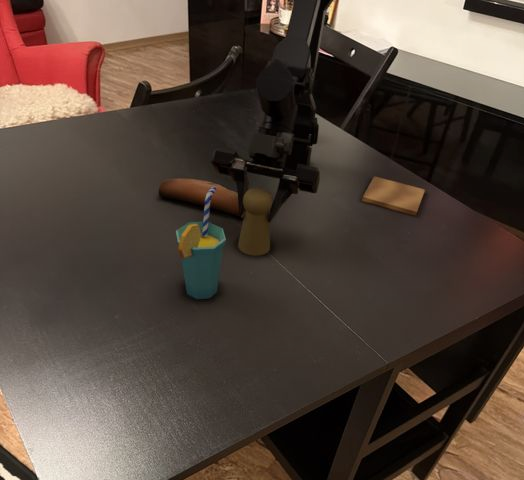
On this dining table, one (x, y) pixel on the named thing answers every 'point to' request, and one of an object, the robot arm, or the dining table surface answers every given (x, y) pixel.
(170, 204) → the dining table surface
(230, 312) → the dining table surface
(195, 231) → the cup
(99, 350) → the dining table surface
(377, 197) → the cork mat
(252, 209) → the pepper shaker
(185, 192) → the sunglasses case
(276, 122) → the robot arm
